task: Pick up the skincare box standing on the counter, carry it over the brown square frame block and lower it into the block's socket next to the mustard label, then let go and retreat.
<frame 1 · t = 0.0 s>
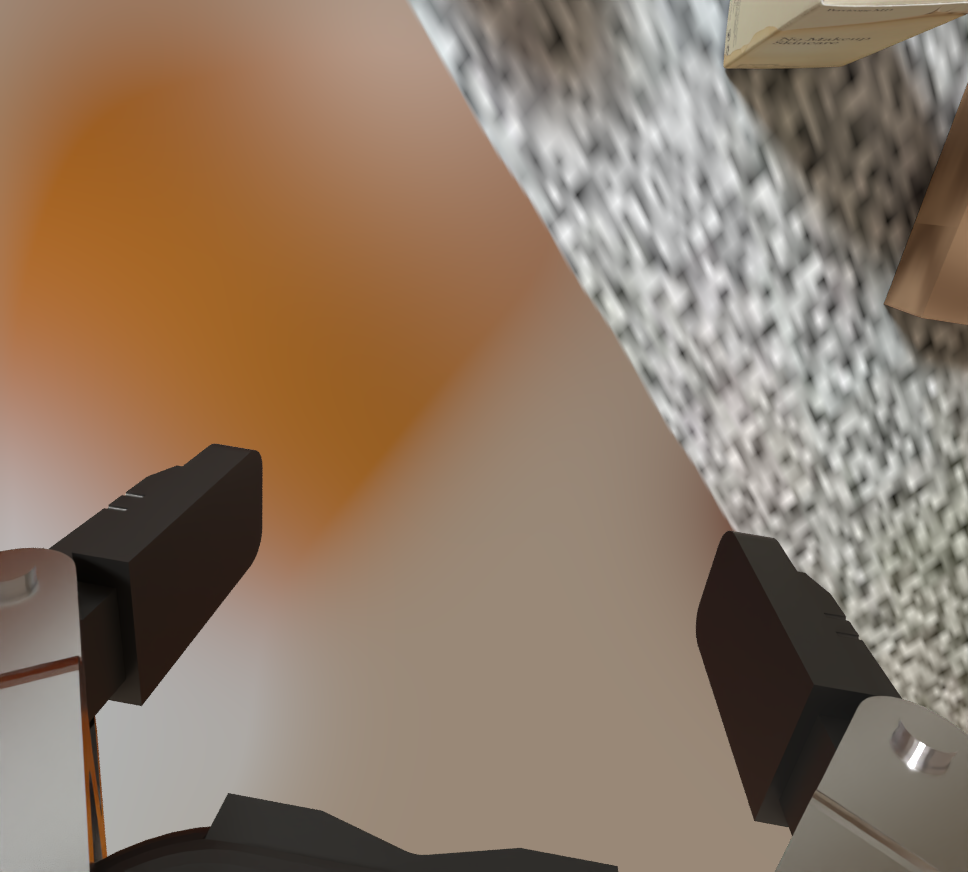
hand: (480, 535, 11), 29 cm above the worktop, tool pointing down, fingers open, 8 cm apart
skincare box: (789, 19, 32), on the worktop
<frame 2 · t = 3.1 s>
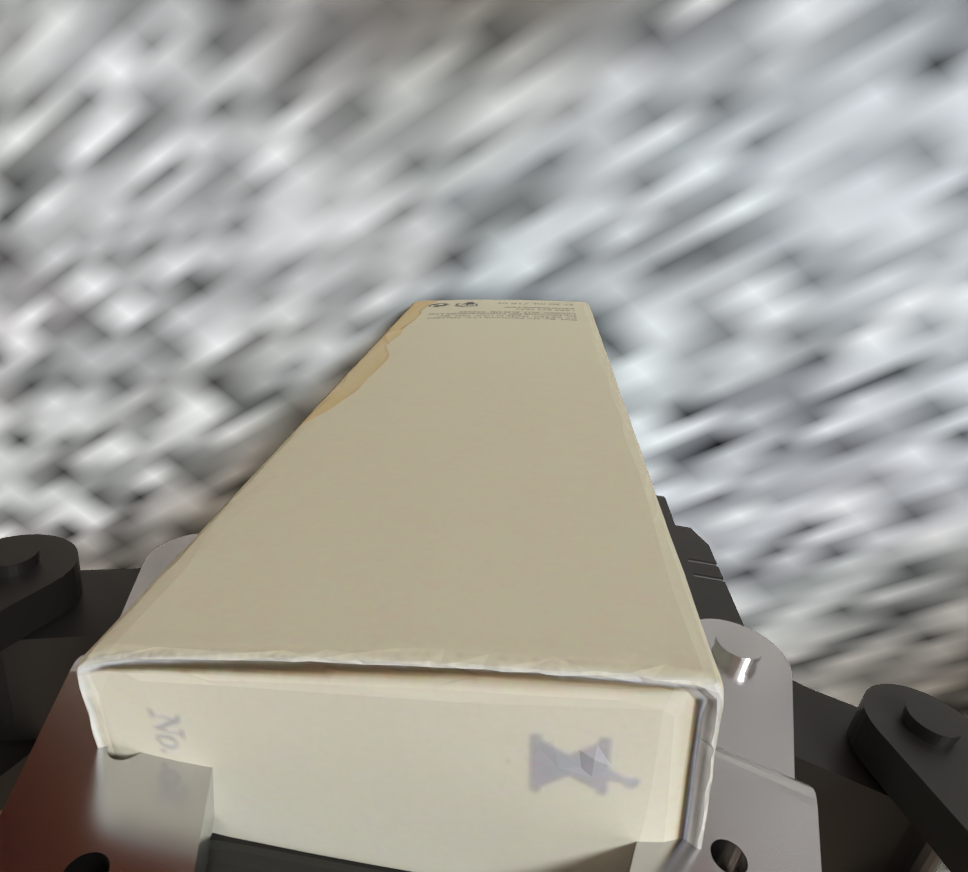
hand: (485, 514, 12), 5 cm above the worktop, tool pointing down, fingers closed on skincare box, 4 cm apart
skincare box: (504, 419, 16), on the worktop, touching gripper
when the fingers open (5 cm above the worktop, at t = 8.4 s): skincare box stays where it is, resting in brown square frame block.
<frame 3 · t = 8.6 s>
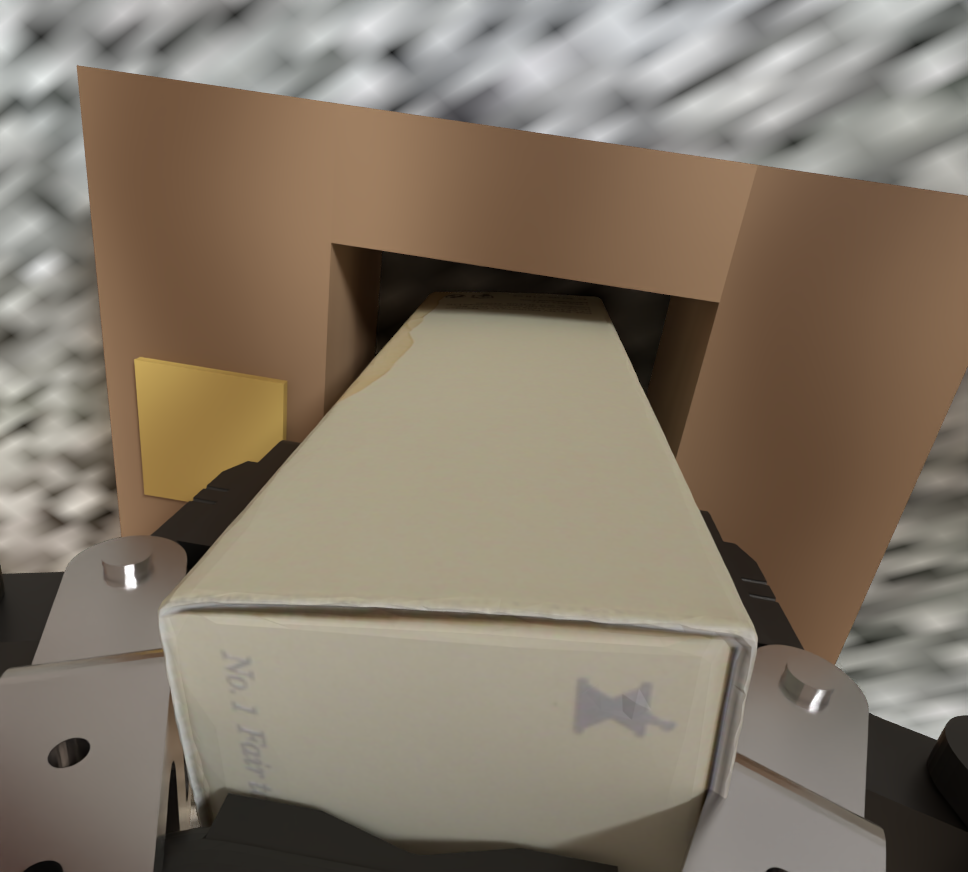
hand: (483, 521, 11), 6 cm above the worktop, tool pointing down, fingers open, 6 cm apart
skincare box: (514, 410, 17), resting in brown square frame block
brown square frame block: (502, 416, 17), on the worktop
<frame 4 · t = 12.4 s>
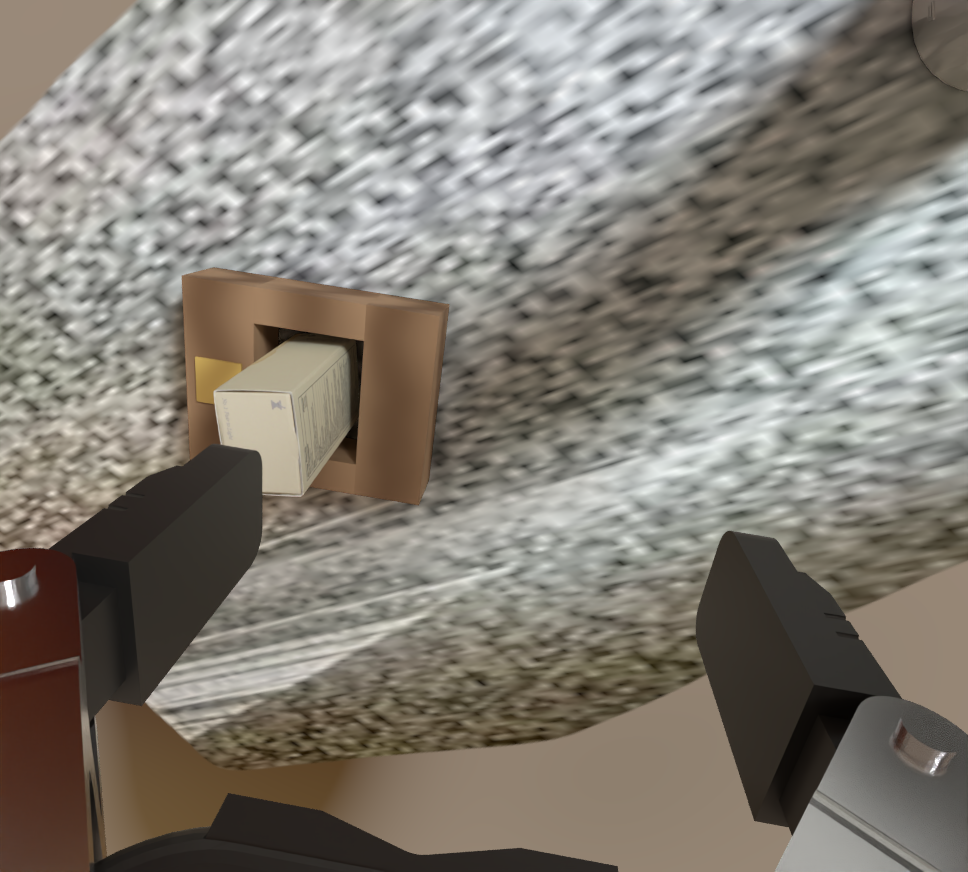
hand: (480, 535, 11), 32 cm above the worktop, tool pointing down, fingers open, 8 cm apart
skincare box: (331, 376, 45), resting in brown square frame block
brown square frame block: (326, 378, 45), on the worktop
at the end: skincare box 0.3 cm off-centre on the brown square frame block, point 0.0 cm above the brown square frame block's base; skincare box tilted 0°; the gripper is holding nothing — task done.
